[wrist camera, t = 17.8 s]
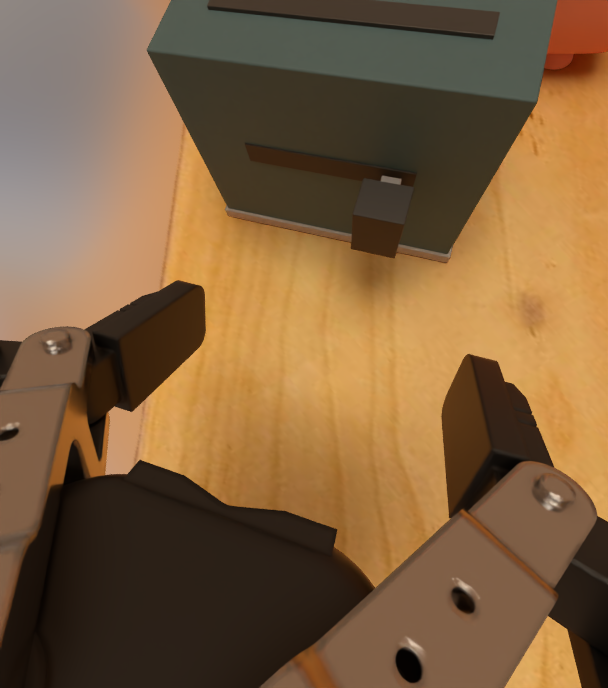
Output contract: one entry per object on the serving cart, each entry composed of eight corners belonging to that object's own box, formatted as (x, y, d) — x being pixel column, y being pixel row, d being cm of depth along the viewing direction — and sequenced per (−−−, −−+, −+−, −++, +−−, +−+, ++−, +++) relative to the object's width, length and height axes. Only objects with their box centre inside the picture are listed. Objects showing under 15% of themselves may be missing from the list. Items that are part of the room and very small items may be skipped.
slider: (394, 258, 19) (404, 224, 16) (350, 249, 19) (352, 214, 16) (408, 207, 19) (420, 164, 16) (365, 199, 20) (369, 156, 17)
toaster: (447, 263, 24) (545, 103, 12) (227, 216, 27) (137, 49, 15) (476, 138, 26) (584, -101, 14) (270, 107, 29) (219, -115, 17)
